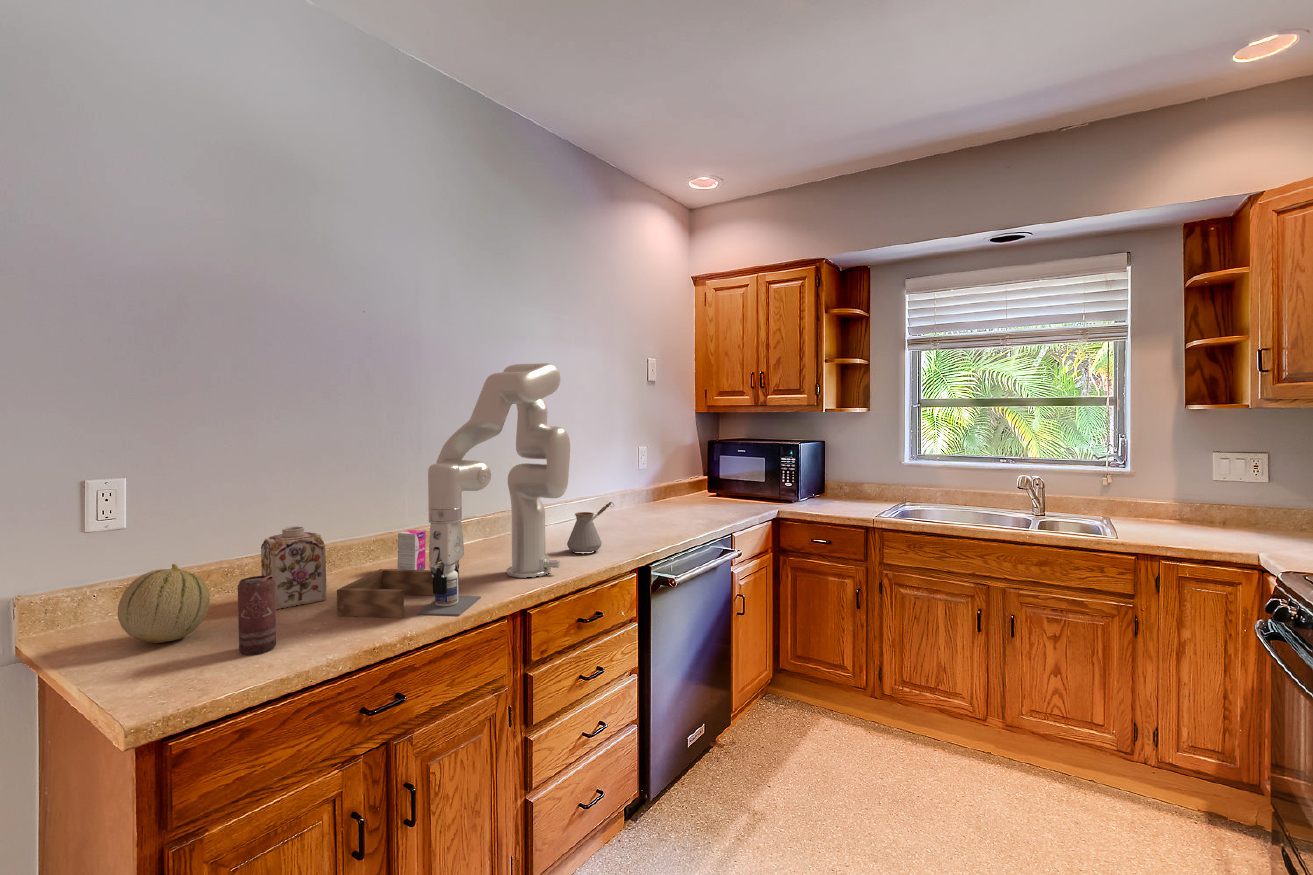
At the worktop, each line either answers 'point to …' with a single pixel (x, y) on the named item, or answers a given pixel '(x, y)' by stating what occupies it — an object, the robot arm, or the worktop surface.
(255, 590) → the can
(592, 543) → the coffee pot
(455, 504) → the robot arm
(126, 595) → the cantaloupe
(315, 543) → the decorative jar
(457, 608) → the mat
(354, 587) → the open box
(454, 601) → the pill bottle
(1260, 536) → the worktop surface
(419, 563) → the supplement box
